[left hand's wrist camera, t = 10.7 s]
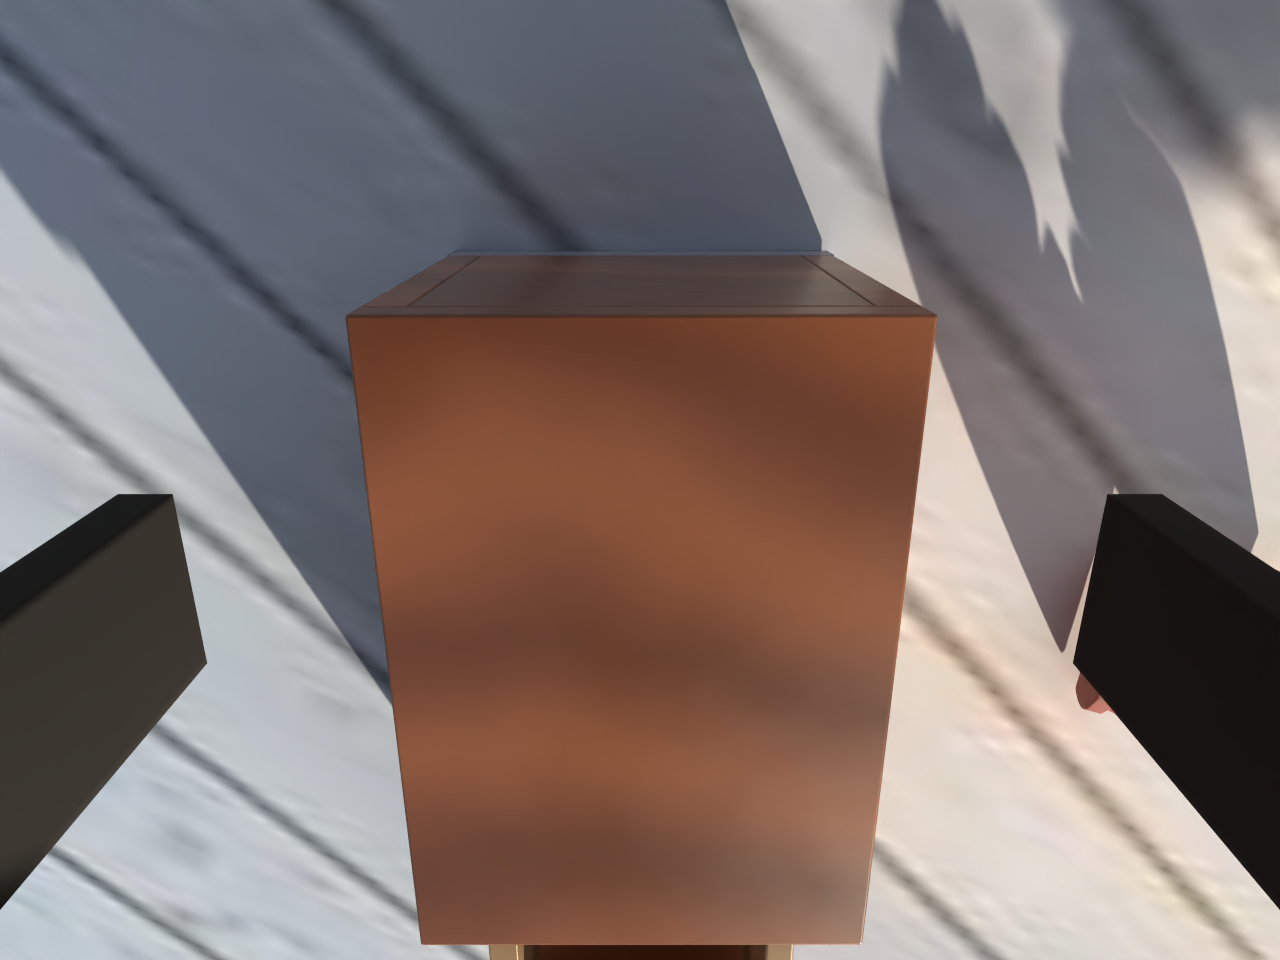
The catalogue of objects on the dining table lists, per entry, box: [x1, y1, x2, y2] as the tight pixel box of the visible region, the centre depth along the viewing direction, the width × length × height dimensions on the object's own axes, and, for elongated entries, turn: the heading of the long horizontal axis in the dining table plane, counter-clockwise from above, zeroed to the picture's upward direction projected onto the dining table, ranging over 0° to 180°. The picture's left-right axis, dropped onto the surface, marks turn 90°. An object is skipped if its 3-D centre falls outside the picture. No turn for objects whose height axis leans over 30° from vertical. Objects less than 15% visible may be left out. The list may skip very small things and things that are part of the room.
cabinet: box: [346, 251, 937, 945], centre depth 24 cm, size 16×11×11 cm
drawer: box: [489, 945, 794, 960], centre depth 29 cm, size 20×10×9 cm, turn 0°
